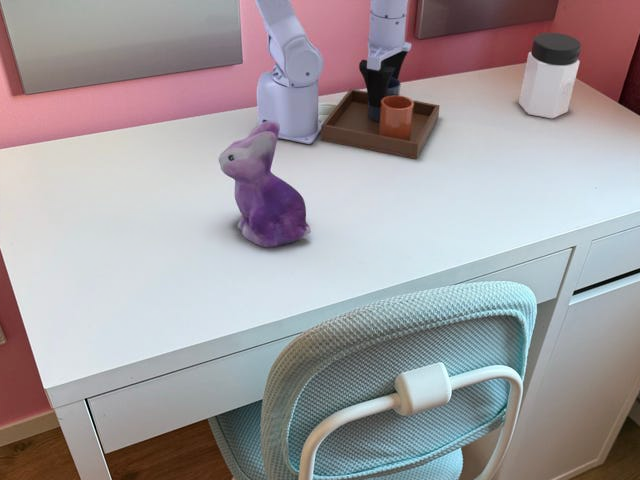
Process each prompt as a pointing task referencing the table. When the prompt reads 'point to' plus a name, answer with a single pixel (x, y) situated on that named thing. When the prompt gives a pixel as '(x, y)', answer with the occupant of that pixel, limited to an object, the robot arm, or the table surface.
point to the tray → (376, 127)
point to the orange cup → (396, 117)
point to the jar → (550, 75)
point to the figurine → (263, 190)
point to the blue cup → (391, 90)
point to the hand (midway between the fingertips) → (382, 96)
